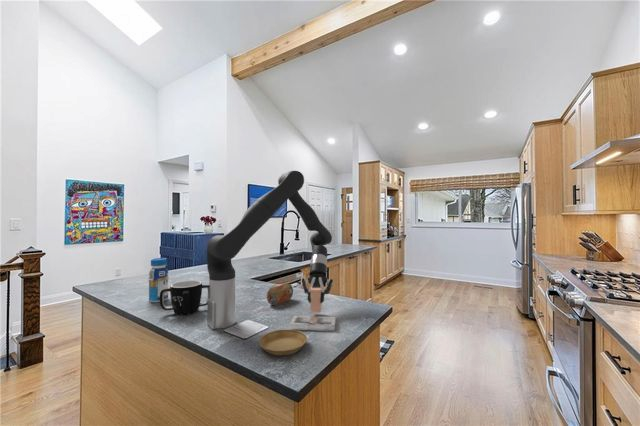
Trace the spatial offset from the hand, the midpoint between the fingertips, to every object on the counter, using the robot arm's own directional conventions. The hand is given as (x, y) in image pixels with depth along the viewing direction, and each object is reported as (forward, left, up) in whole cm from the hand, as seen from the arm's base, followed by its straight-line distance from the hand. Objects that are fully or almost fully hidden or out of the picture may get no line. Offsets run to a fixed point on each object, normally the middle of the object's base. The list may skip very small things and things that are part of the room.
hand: (315, 302), depth 109 cm
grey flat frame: (-6, -6, -6) cm, 11 cm away
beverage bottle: (-44, +67, -6) cm, 81 cm away
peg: (+1, +1, -4) cm, 5 cm away
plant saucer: (-23, -13, -6) cm, 27 cm away
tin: (-1, +25, -6) cm, 26 cm away
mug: (-38, +40, -6) cm, 56 cm away
